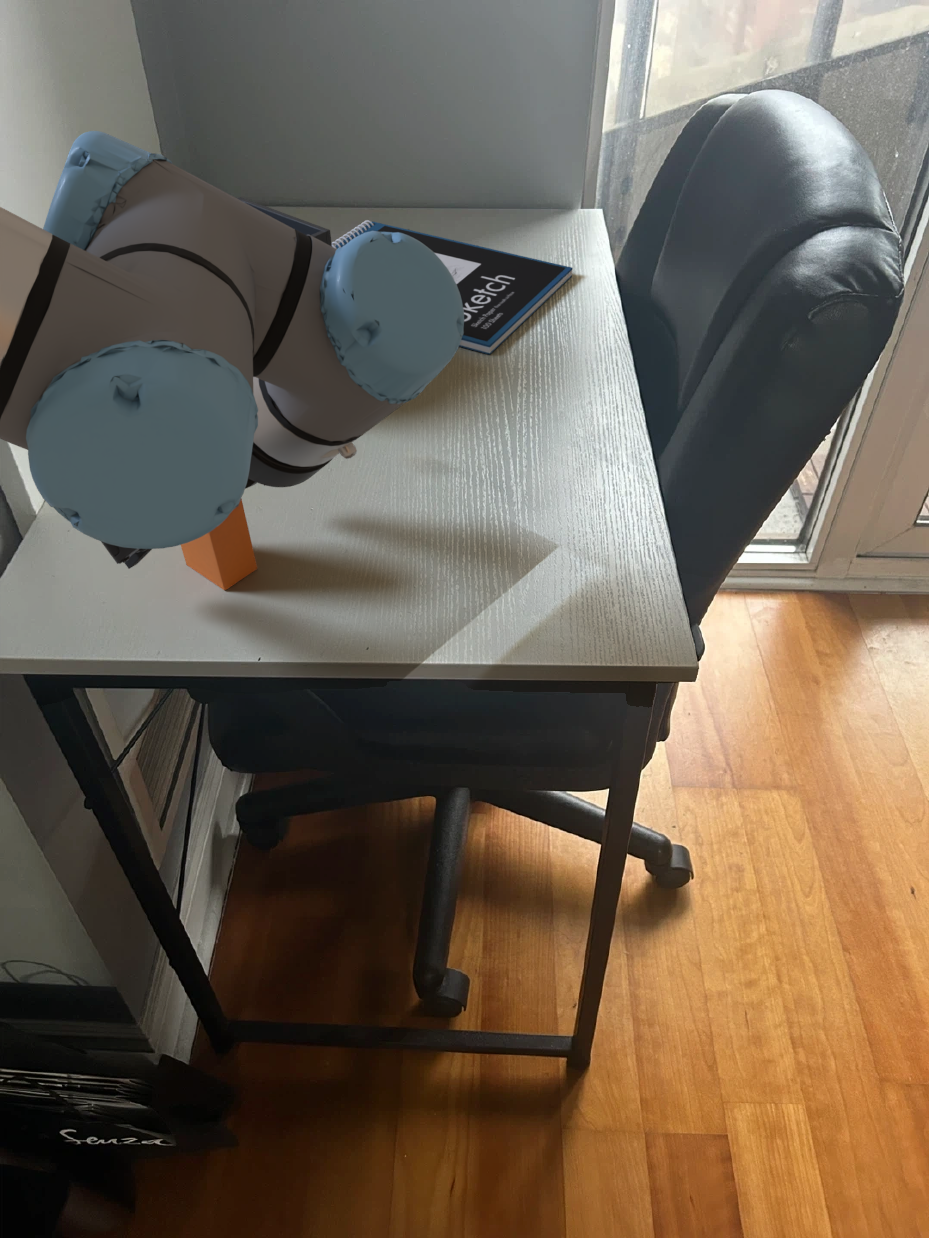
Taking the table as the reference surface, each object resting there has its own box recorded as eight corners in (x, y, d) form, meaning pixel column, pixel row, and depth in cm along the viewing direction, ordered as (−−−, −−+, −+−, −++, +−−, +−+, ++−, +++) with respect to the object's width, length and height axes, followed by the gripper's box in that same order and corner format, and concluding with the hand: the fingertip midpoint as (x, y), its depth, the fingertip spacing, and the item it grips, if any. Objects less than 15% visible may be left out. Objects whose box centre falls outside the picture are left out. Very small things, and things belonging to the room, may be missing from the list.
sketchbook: (490, 357, 102) (490, 339, 101) (268, 298, 113) (265, 282, 111) (572, 277, 115) (573, 260, 114) (366, 231, 126) (365, 215, 124)
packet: (224, 591, 76) (192, 469, 68) (186, 565, 78) (150, 444, 70) (257, 568, 78) (230, 447, 69) (219, 544, 80) (187, 423, 72)
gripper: (162, 566, 52) (88, 632, 70) (458, 381, 65) (332, 476, 83) (78, 451, 51) (24, 548, 68) (397, 286, 64) (283, 403, 82)
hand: (193, 509), depth 76 cm, fingers open, 13 cm apart
